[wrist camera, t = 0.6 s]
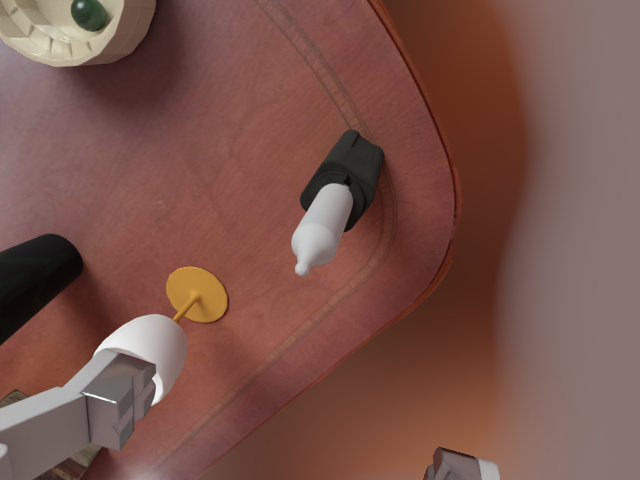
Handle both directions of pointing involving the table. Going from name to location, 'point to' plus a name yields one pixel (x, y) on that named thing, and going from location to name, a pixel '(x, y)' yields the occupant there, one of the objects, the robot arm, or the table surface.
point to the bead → (89, 14)
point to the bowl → (73, 31)
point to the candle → (336, 199)
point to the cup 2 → (171, 326)
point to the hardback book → (72, 469)
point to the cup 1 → (34, 278)
